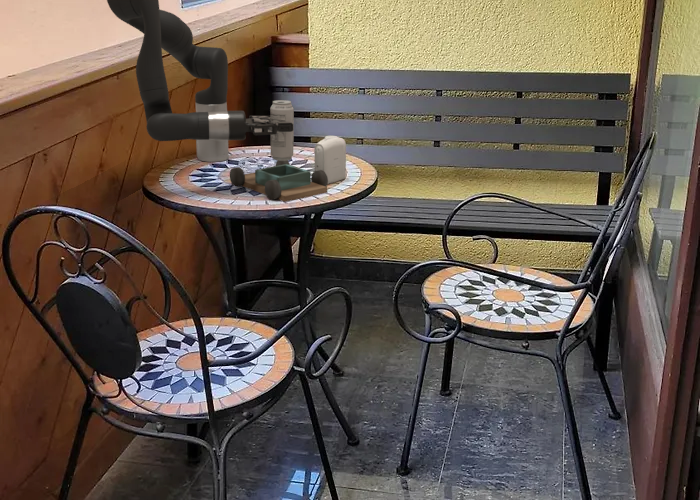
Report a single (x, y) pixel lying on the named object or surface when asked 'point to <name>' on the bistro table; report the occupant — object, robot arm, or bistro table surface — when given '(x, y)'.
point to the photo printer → (331, 158)
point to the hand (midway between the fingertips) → (291, 124)
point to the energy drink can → (282, 140)
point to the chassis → (282, 181)
